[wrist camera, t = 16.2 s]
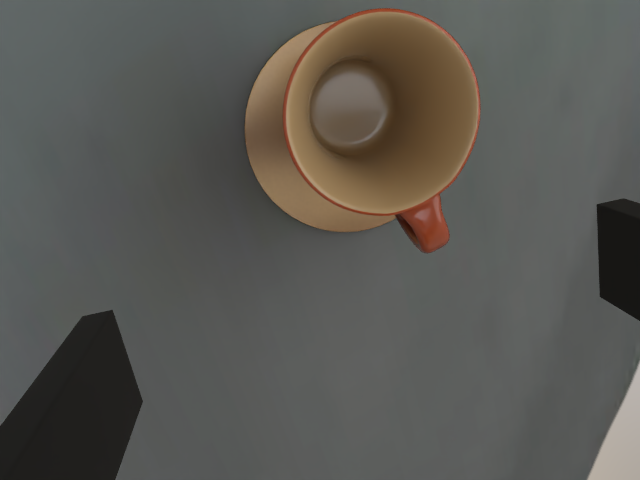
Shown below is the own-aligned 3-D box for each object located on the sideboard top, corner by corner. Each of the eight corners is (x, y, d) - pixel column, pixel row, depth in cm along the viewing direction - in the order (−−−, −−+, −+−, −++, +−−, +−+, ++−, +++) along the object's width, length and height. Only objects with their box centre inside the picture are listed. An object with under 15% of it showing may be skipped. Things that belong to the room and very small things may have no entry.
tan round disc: (458, 207, 36) (460, 209, 36) (269, 249, 35) (269, 251, 35) (435, 1, 32) (437, 1, 32) (222, 43, 31) (221, 43, 31)
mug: (248, 74, 32) (244, 70, 22) (378, 4, 31) (435, -32, 22) (337, 244, 35) (368, 305, 25) (455, 182, 35) (532, 220, 25)
